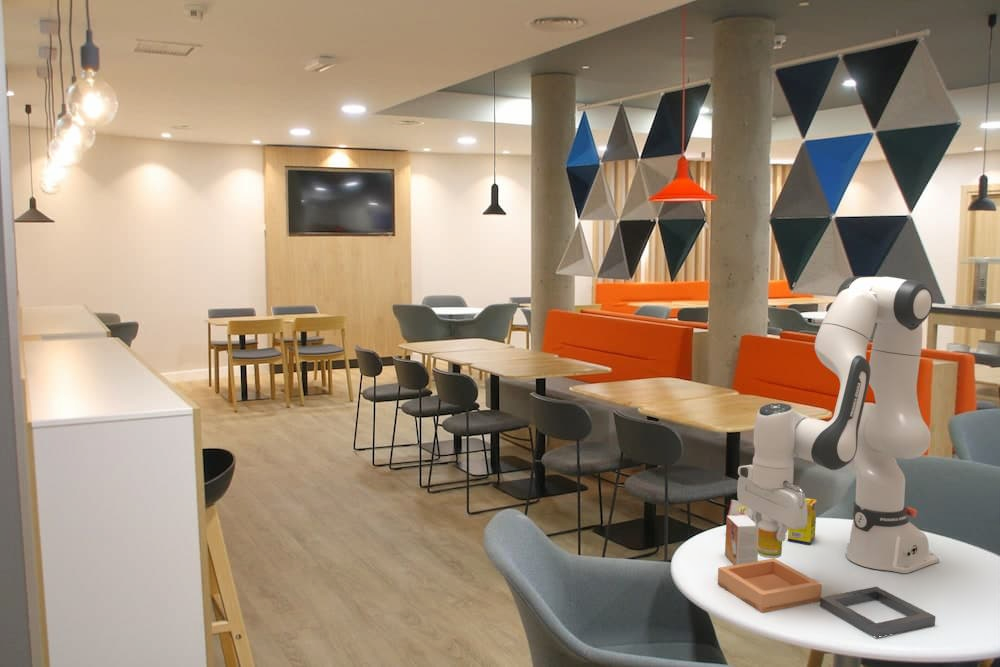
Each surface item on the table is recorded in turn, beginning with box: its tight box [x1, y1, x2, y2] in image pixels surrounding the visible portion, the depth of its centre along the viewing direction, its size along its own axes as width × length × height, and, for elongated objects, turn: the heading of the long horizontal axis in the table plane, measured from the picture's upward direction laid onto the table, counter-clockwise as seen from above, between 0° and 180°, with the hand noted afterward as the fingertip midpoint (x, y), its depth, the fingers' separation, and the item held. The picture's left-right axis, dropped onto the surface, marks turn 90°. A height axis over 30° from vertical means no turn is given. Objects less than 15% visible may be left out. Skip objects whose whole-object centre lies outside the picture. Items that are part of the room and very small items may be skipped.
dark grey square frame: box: [819, 586, 936, 637], centre depth 181 cm, size 16×16×2 cm
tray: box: [717, 558, 822, 613], centre depth 193 cm, size 16×16×4 cm
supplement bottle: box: [757, 513, 783, 559], centre depth 191 cm, size 5×5×10 cm
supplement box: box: [787, 497, 818, 546], centre depth 225 cm, size 6×6×11 cm
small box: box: [724, 515, 759, 565], centre depth 211 cm, size 8×6×10 cm
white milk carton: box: [727, 499, 756, 523], centre depth 227 cm, size 4×7×10 cm, turn 45°
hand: (770, 535), depth 191 cm, fingers closed on supplement bottle, 5 cm apart
